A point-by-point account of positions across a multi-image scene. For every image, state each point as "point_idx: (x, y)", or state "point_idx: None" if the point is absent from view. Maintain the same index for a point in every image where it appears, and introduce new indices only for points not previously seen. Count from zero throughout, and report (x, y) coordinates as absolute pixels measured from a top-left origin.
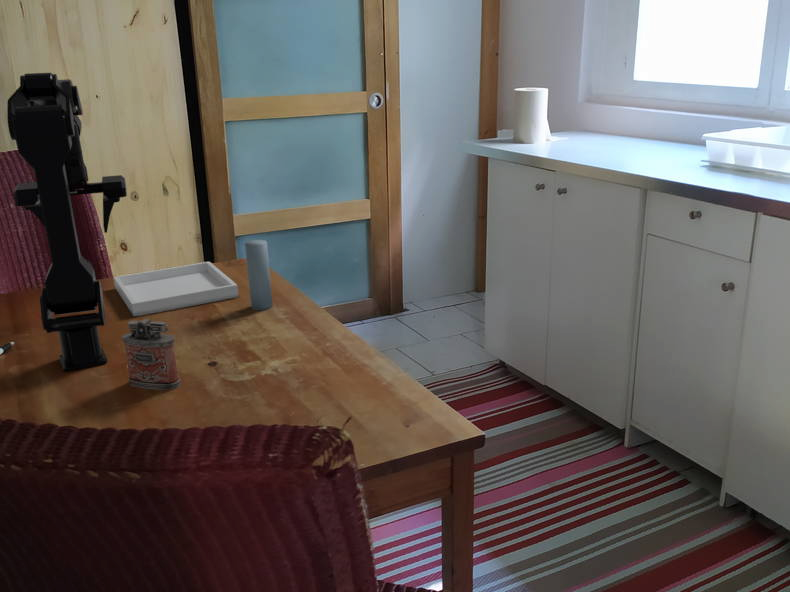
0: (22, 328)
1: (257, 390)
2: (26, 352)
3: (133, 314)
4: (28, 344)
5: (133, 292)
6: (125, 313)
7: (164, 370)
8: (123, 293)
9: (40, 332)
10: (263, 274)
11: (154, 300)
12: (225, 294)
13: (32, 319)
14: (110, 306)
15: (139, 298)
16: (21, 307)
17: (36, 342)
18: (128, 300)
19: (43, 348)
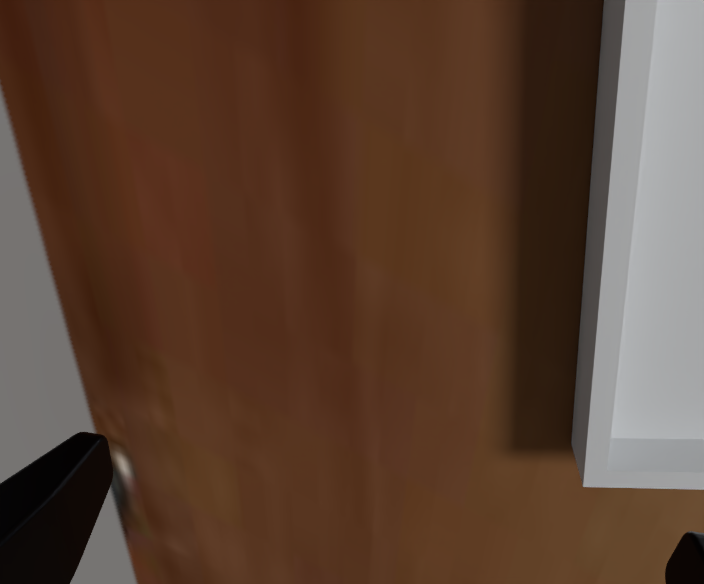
0: (125, 340)
1: None
2: (183, 557)
3: (573, 444)
4: (178, 503)
5: (681, 119)
6: (548, 384)
7: None
8: (598, 259)
9: (203, 418)
10: None
11: (696, 487)
12: None
13: (146, 247)
14: (505, 249)
15: (671, 258)
16: (49, 5)
17: (202, 500)
18: (587, 397)
19: (231, 555)
